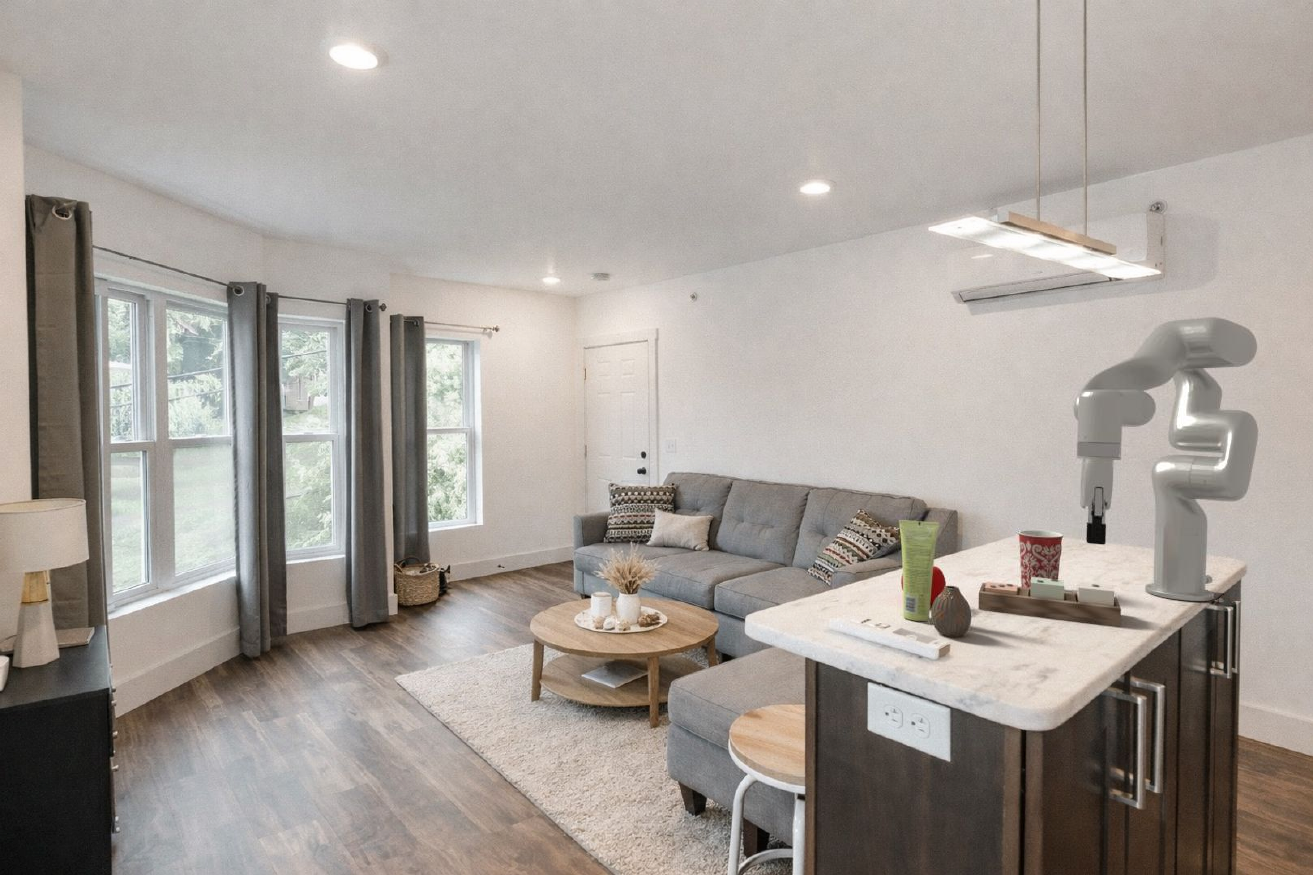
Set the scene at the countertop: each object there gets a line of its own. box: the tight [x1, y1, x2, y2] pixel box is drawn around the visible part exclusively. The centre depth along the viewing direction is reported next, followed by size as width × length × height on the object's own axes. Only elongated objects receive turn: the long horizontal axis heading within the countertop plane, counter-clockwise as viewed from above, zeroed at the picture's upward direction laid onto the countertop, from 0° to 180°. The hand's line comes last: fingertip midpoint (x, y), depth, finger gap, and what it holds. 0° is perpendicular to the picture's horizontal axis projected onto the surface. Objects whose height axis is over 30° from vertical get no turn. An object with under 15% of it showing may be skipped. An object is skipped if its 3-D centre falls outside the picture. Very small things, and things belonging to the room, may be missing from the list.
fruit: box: [900, 565, 947, 606], centre depth 155 cm, size 9×9×10 cm
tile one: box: [1076, 581, 1115, 606], centre depth 144 cm, size 6×6×3 cm
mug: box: [1017, 529, 1064, 588], centre depth 166 cm, size 13×9×14 cm
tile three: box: [985, 581, 1019, 595], centre depth 153 cm, size 6×6×3 cm
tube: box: [898, 519, 940, 622], centre depth 143 cm, size 6×5×20 cm
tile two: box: [1030, 577, 1065, 600], centre depth 149 cm, size 6×6×3 cm
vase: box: [930, 585, 972, 638], centre depth 133 cm, size 7×7×9 cm
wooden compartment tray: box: [977, 582, 1122, 628], centre depth 149 cm, size 25×10×4 cm, turn 61°
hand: (1095, 543), depth 144 cm, fingers closed
